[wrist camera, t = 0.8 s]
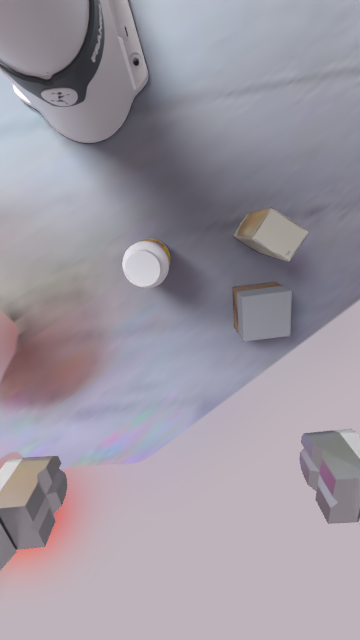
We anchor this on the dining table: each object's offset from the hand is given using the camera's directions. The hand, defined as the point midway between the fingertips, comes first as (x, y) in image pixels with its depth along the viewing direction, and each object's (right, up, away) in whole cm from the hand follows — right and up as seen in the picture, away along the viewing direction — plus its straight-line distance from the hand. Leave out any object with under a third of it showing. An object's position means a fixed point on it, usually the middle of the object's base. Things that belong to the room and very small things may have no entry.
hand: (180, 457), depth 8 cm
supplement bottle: (-5, +16, +36) cm, 39 cm away
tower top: (+14, +6, +36) cm, 39 cm away
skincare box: (+13, +20, +35) cm, 42 cm away
